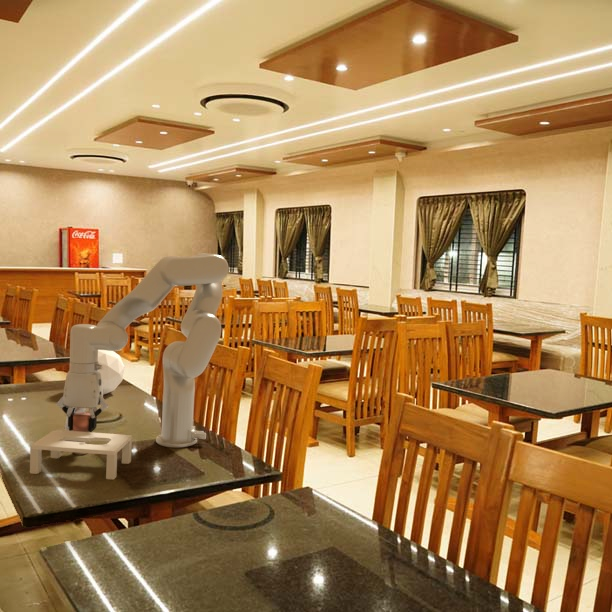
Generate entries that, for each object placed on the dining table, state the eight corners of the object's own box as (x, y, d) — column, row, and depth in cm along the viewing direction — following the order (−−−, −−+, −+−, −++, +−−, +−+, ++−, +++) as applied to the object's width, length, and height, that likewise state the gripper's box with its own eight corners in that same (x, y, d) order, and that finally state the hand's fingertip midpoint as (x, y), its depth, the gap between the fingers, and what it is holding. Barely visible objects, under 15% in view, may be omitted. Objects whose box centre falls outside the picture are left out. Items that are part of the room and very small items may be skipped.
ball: (100, 406, 250) (120, 364, 260) (118, 399, 235) (139, 355, 245) (57, 386, 242) (80, 343, 252) (74, 377, 227) (97, 332, 237)
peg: (93, 449, 178) (94, 413, 177) (86, 455, 173) (87, 417, 172) (76, 448, 178) (77, 412, 177) (69, 454, 173) (70, 416, 172)
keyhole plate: (131, 461, 171) (132, 435, 170) (113, 479, 157) (114, 451, 156) (53, 455, 171) (54, 429, 171) (29, 473, 157) (30, 445, 157)
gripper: (117, 367, 177) (115, 428, 178) (59, 363, 177) (58, 424, 179) (108, 372, 169) (106, 435, 171) (48, 368, 170) (46, 431, 171)
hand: (82, 429), depth 175 cm, fingers closed on peg, 5 cm apart
